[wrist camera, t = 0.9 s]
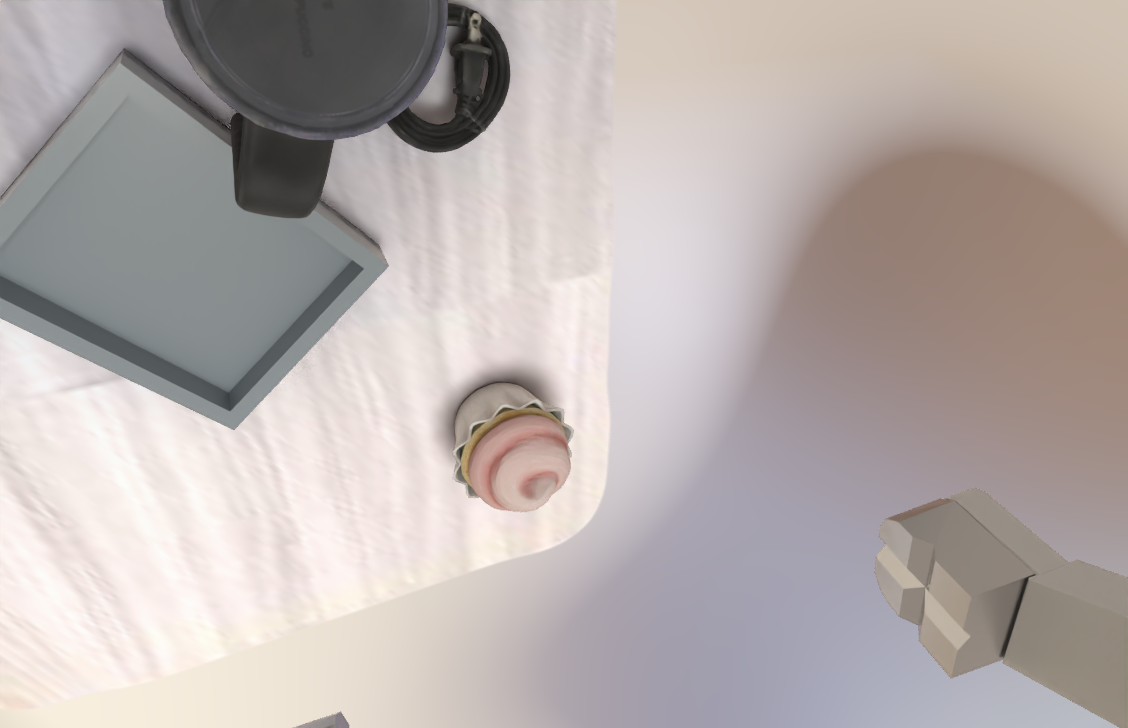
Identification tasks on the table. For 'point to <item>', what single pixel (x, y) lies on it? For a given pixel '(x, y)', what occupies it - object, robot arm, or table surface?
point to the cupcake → (511, 448)
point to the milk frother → (331, 82)
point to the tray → (169, 252)
